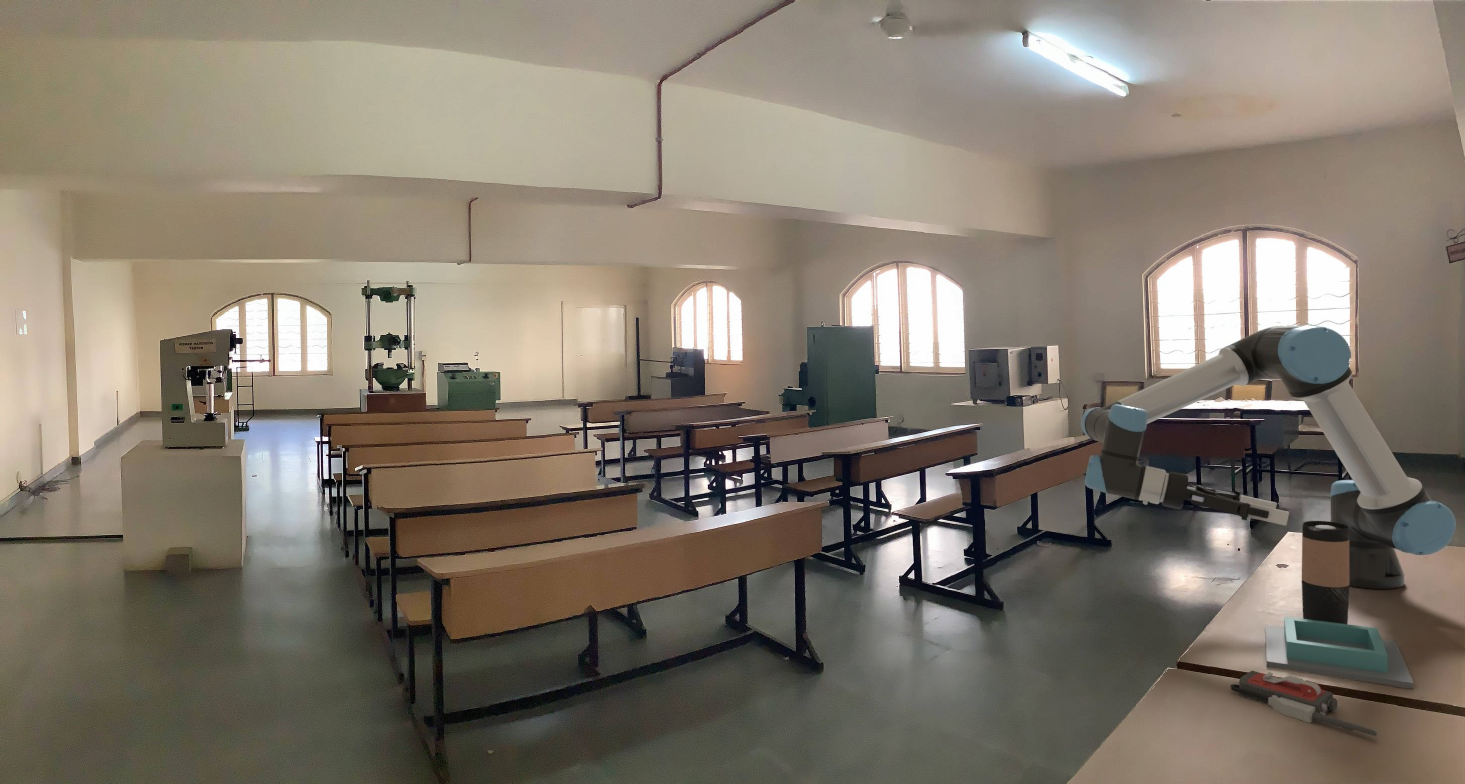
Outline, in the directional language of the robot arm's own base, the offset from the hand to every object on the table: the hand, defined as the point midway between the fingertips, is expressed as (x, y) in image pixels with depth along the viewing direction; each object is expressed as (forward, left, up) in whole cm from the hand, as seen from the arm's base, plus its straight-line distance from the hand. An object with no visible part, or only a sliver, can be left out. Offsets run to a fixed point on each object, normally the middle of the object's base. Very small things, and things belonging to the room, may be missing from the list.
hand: (1281, 513), depth 163 cm
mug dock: (+18, +7, -22) cm, 29 cm away
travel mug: (0, +7, -22) cm, 23 cm away
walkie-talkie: (+44, +2, -22) cm, 49 cm away
